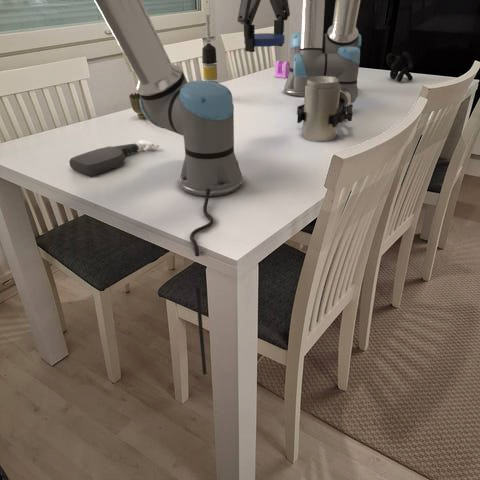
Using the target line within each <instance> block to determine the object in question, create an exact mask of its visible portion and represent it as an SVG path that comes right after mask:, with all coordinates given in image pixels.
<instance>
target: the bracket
mask: <svg viewBox="0 0 480 480" xmlns="http://www.w3.org/2000/svg"><path fill="white" fill-rule="evenodd" d="M274 66H275V67H274V69H275V70H274V77H276V78H284V79H287V78H288V75H289V69H290V60H289V61H288V60H285V61H284V62H283V60H280V59H279V60H276V61H275V65H274Z"/></svg>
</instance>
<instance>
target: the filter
mask: <svg viewBox="0 0 480 480" xmlns="http://www.w3.org/2000/svg"><path fill="white" fill-rule="evenodd" d="M210 17H211V14H204V18H205V27H206V29H205V30H206V31H205V33H206V39H207V40H206V42H207V43H206V45H204V46H202V49H201V50H202V51H201V52H202V54H201V55H202V57H201V58H202V61H201V63H202V71H203V72H202V73H203V74H202V75H203V81H207V82H216V83H219V82H218V81H216V80H218V64H216V63H218V61H217V48H216V47H215V46H214V45H212V43H210V42H211V40H210V39H211V31H210V29H211V28H210Z"/></svg>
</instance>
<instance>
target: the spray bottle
mask: <svg viewBox="0 0 480 480" xmlns="http://www.w3.org/2000/svg"><path fill="white" fill-rule="evenodd" d="M159 148H160V145H159V144H158V143H155V142H151V141H148V140H144V139H139V140H138V141H137V142H135V143H129V144H128V143H126V144H122V145H113V146H105V147H100V148H97V149H94V150H90V151H87V152H83V153H81V154H78V155H74V156H73V157H70V159H69V161H68V162H69V167H70V168H71V169H72V170H74V171H75V172H78V173H81V174H83V175H85V176H89V177H90V176H91V177H92V176H95V175H99V174H102V173H105V172H107V171H110V170H113V169H116V168H118V167H120V166H122V165H123V164H124V163H125V158H126V156H127V155H131V154H133V153H138V151H140V150H143V151H144V152H146V151H147V150H149V149H159Z"/></svg>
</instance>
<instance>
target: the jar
mask: <svg viewBox="0 0 480 480" xmlns="http://www.w3.org/2000/svg"><path fill="white" fill-rule="evenodd" d="M340 87H341V85H340V84H339V79H338V78H335V77H330V76H315V77H310V78H308V81H307V83H306V84H305V97H304V101H303V102H304V103H303V104H304V117H303V121H302V133H301V134H302V138H303V139H306V140H307V141H312V142H329V141H332V140H334V139H336V136H337V126H338V125H337V126H336V127H332V125H333V118H334V117H335V116H336V115H337V114H338V107H339V97H340Z"/></svg>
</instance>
